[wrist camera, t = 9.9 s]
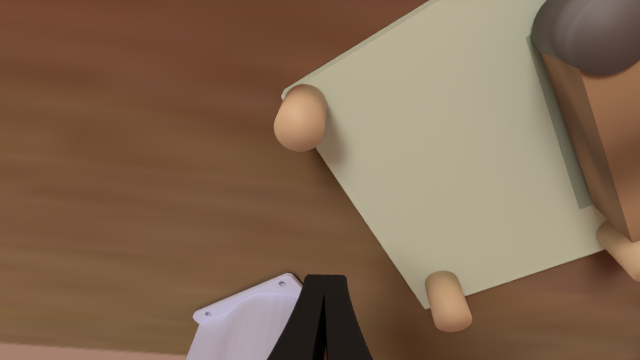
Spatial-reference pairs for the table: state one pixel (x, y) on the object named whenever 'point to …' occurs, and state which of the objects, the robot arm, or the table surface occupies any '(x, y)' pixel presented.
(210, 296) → the table surface
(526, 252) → the seat
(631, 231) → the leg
